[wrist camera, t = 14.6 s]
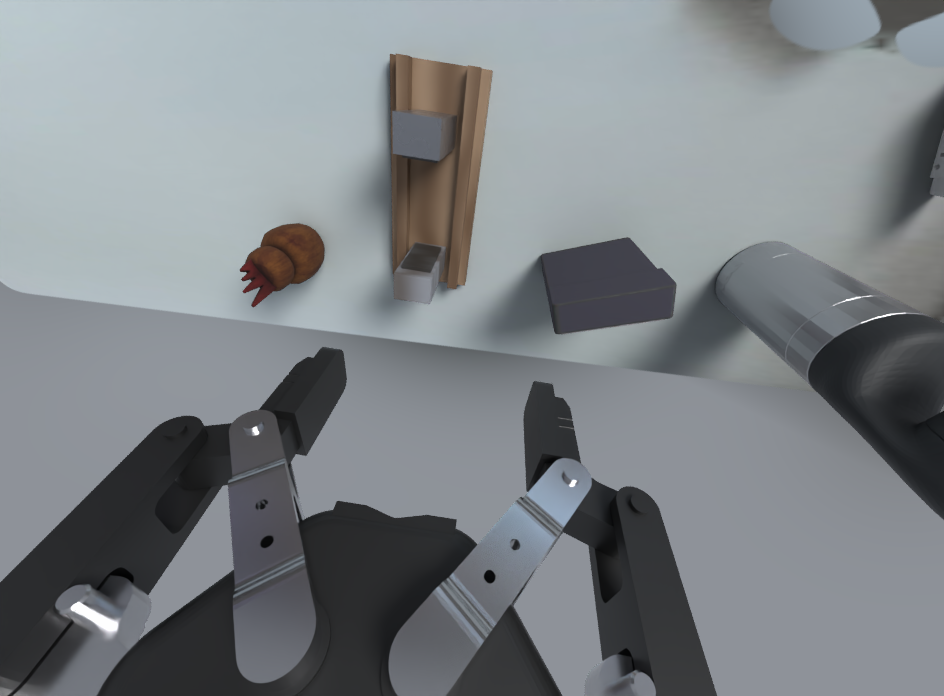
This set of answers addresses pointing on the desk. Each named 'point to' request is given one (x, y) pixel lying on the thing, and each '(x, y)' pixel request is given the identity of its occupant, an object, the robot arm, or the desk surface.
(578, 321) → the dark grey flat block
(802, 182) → the desk surface
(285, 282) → the wooden figurine
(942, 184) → the cassette
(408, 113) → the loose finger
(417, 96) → the rail
